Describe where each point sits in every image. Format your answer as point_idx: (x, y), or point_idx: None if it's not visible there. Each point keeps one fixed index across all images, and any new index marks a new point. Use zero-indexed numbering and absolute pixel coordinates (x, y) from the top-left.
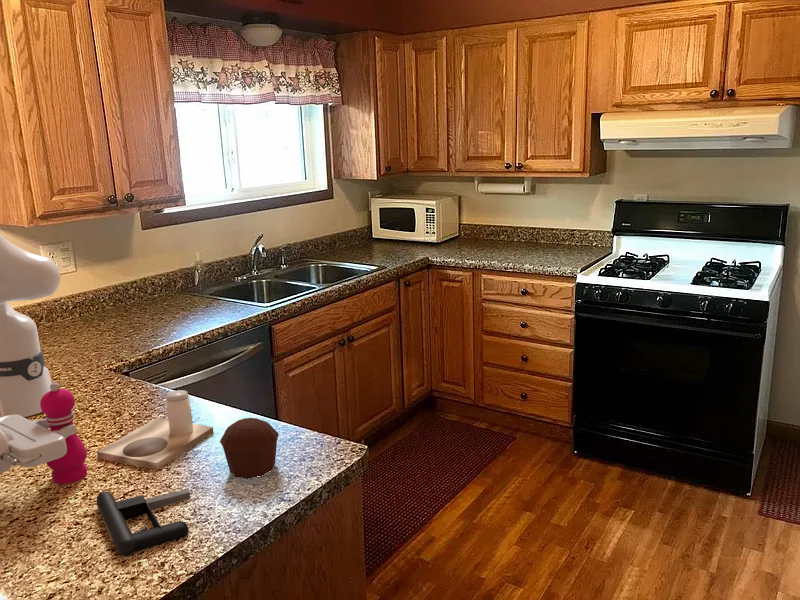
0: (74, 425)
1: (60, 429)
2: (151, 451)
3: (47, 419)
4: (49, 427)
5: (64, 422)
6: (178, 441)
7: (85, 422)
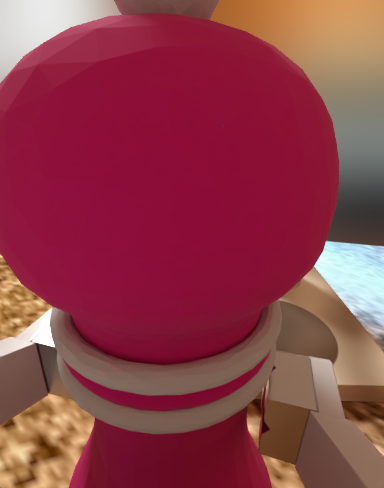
0: (328, 360)
1: (364, 478)
2: (318, 343)
3: (128, 384)
4: (46, 392)
5: (271, 360)
6: (316, 301)
7: (13, 286)
